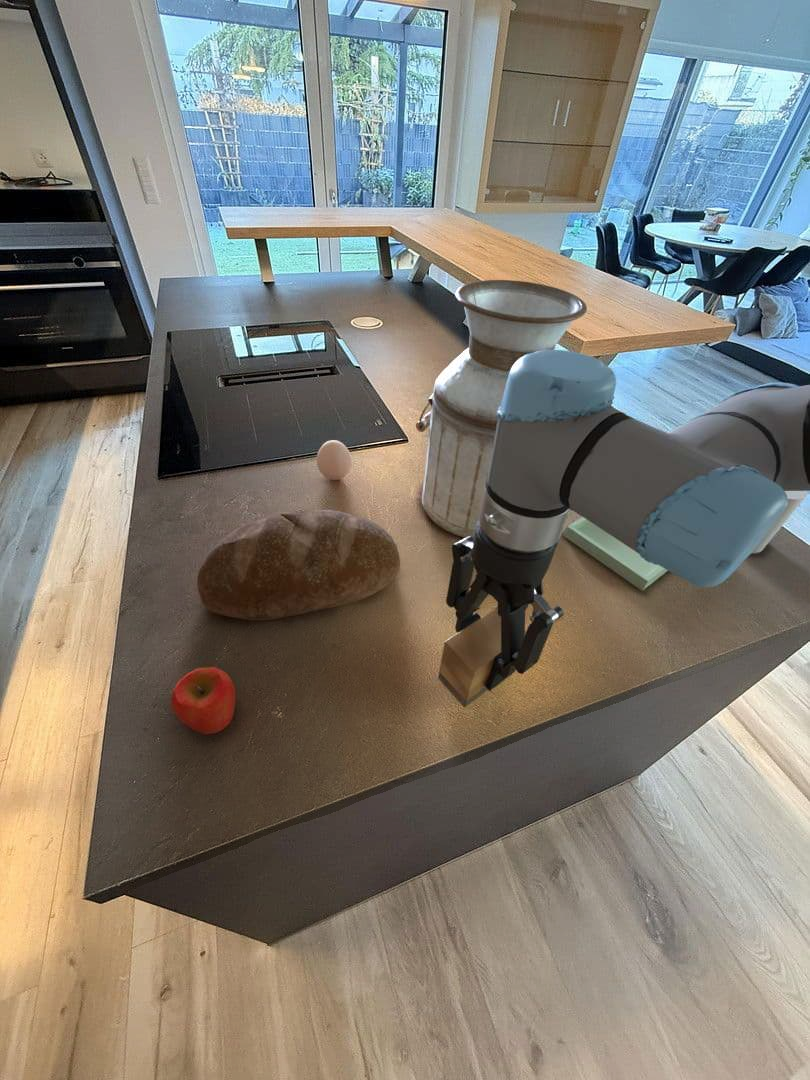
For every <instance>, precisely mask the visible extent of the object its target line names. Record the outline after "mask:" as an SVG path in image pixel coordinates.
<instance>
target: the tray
mask: <svg viewBox="0 0 810 1080" xmlns="http://www.w3.org/2000/svg"><path fill="white" fill-rule="evenodd" d="M563 537H564V538H566V539H567V540H569V541H570V542H571V543H573V544H574V545H575V546H577V547H579V548H580V549H582V550H583V551H584V552H586V553H587V554H588V555H590V556H591V557H593V558H594V559H596V561H598V562H600V563H601V564H603V565H604V566H606V567H607V568H609V569H610V570H612V571H613V572H614V573H616V574H617V575H618V576H620V577H622V578H623V579H624V580H626V581H627V582H629V583H630V584H632V586H634V587H636V588H638V589H639V590H640V591H642V592H643V591H644V590H646V589H647V588H648V587H649V586H650V585H652V584H653V583H654V582H655V581H657V580H658V579H659V578H661V576H663V575H664V574H665V573H667V572H669V571H668V570H667V569H665V568H663V567H661V566H660V565H655V564H653V563H651V562H650V563H649V562H647V561H646V560H645V559H644V558H642V557H641V556H640V554H638V553H637V552H635V551H634V550H633V549H631V548H630V547H628V546H627V545H625V544H623V543H622V542H620V541H619V540H617V539H616V538H614V537H613V536H611V535H610V534H608V533H607V532H605V531H604V530H602V529H601V528H599V527H598V526H596V525H594V524H593V523H591V522H590V521H588V520H587V519H585V518H584V517H582V516H581V518H578V519H577V520H575V521H574V522H572V523H570V524H569V525H567V526H566V529H565V530H564V533H563Z"/></svg>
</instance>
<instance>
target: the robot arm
mask: <svg viewBox="0 0 810 1080" xmlns="http://www.w3.org/2000/svg"><path fill="white" fill-rule="evenodd" d="M616 386H617V377H616V373H615V371H613V369H612V368H611V367H610V366H607V365H605V363H604V362H603V361H602V360H600V359H598V358H596V357H594V356H591V355H588V354H585V353H581V352H577V351H572V350H563V349H554V350H542V351H537V352H534V353H531V354H527V355H525V356H523V357H521V358H520V359H519V360H517V361H516V362H515V364H514V365H513V366H512V368H511V370H510V373H509V376H508V380H507V384H506V388H505V392H504V395H503V399H502V403H501V407H499V409H498V412H497V416H498V418H497V424H496V431H495V437H494V443H493V450H492V456H491V462H490V469H489V472H488V474H487V479H486V484H485V489H484V494H483V499H482V503H481V508H480V513H479V521H478V523H477V527H476V532H475V536H474V538H473V537H472V536H468V537H466V538H462V539H461V540H458V541H457V542H455V543H453V544H451V553H452V566H451V571H450V577H449V582H448V588H447V594H446V598H445V602H446V605H447V606H448V607H449V608H454V610H455V617H456V622H455V625H454V629H455V632H456V634H457V633H459V632H460V631H462V630H463V629H465V628H466V627H468V626H469V625H471V624H472V623H474V622H475V621H477V620H479V619H480V618H482V616H481V615H479V613H477V611H479V610H480V609H481V605H482V604H483V603H484V601H485V600H486V599H487V597H488V595H489V596H491V597H492V598H493V599H494V600H495V601H496V602H497V607H498V615H499V616H501V653H499V654H498V655H496V656H495V657H494V661H493V664H492V667H491V670H490V674H489V677H488V680H487V683H486V686H485V687H486V688H487V689H488V690H487V691H489V692H491V691H492V690H493V689H495V688H496V687H497V686H499V685H500V684H501V683H503V682H504V681H505V680H506V679H508V678H509V677H511V676H512V675H513V674H514V673H516V672H517V674H519V675H523V674H525V673H526V672H527V671H528V670H530V669H531V668H532V667H534V666H535V665H536V664H537V663H539V660H540V657H541V655H542V652H543V650H544V648H545V645H546V643H547V640H548V637H549V635H550V633H551V630H552V628H553V625H554V623H555V622H557V621H558V620H559V619H561V618H563V616H564V614H565V613H564V610H563V608H562V607H560V606H559V605H554V606H551V605H550V603H549V602H548V601H547V600H546V599H545V597H544V596H543V594H544V586H543V580H544V578H545V576H546V574H547V573H548V570H549V568H550V566H551V563H552V561H553V557H554V555H555V553H556V549H557V546H558V542H559V540H560V538H561V537H562V533H563V530H564V527H565V525H566V523H567V519H568V516H569V513H570V511H572V512H575V513H576V514H577V515H579V516H580V517H581V518H582V517H584V518H585V519H587V520H588V521H590V522H591V523H593V524H594V525H596V526H598V527H599V528H601V529H602V530H604V531H605V532H607V533H608V534H610V535H611V536H613V537H614V538H616V539H617V540H619V541H620V542H622V543H623V544H625V545H627V546H628V547H630V548H631V549H633V550H634V551H635V552H637V553H638V554H640V556H641V557H642V558H644V559H645V560H646V561H647V562H649V563H650V562H651V563H653V564H655V565H660V566H661V567H663V568H665V569H667V570H668V571H667V572H669V573H672V574H674V575H676V576H678V577H679V578H681V579H682V580H684V581H686V582H687V583H690V584H692V585H693V586H696V587H700V588H713V587H715V586H719V585H721V584H723V582H725V581H726V580H727V579H728V578H729V577H730V576H731V575H732V574H733V573H734V572H735V571H736V570H737V569H738V568H739V567H740V565H742V563H744V561H745V560H746V559H748V557H749V556H750V555H751V554H753V553H752V551H753V550H754V549H755V548H756V547H757V546H758V544H759V543H760V542H761V541H762V540H763V538H764V537H765V536H766V535H767V533H768V532H769V531H770V529H771V528H772V527H773V526H774V524H775V523H776V522H777V520H778V519H779V518H780V516H781V515H782V513H783V512H784V510H785V508H786V507H787V504H788V498H787V494H786V493H785V491H807V492H810V384H807V385H806V384H805V385H798V384H795V383H788V382H782V381H781V382H780V381H779V382H769V383H764V384H760V385H757V386H754V387H750V388H746V389H743V390H742V389H741V390H739V391H736V392H735V393H734V394H732V395H731V396H728V397H726V398H724V399H723V400H722V401H720V402H719V403H718V404H717V405H715V406H713V407H711V408H709V409H708V410H706V411H704V412H702V413H700V414H699V415H697V416H695V417H693V418H691V419H689V420H688V421H686V422H685V423H683V424H681V425H679V426H677V427H675V428H672V430H670V431H667V432H666V431H664V430H661V429H660V428H657V427H654V426H652V425H650V424H648V423H646V422H643V421H641V420H638V419H636V418H634V417H632V416H630V415H627V414H626V413H625V412H624V411H621V410H619V409H616V408H615V407H613V406H612V405H613V403H614V402H613V400H614V399H615V391H616ZM474 570H475V572H476V575H475V578H474V580H473V574H474ZM472 580H473V581H472ZM529 605H531V607H532V611H531V616H529V620H530V624H529V625H528V626H527V629H526V612H527V609H528V608H529ZM525 630H526V634H525Z"/></svg>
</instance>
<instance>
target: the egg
mask: <svg viewBox="0 0 810 1080" xmlns="http://www.w3.org/2000/svg"><path fill="white" fill-rule="evenodd" d="M352 461H353V459H352V455H351V452H350V450H349V448H348V447H347V446H346V445H345V444H344V443H342V441H340V440H336V439H335V440H334V439H333V440H332V439H330V440H328V441H326V442H324V443H323V444H322V445H321V447H320V448H319V450H318V451H317V454H316V466H317V469H318V471H319V472H320V474H321V475H322V476H323V477H324V478H327V479H328V480H333V481H337V480H340V479H343V478H345V477H346V476H347V475H348V474H349V472H350V471H351V469H352V463H353V462H352Z"/></svg>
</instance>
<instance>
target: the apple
mask: <svg viewBox="0 0 810 1080" xmlns="http://www.w3.org/2000/svg"><path fill="white" fill-rule="evenodd" d="M170 698H171V699H170V700H171V706H172V709H173V712H174V714H175V715H176V716H177V718H178V719H179V720H180V721H181V722H182V723H184V725H186V726H188V727H189V728H190V729H191V730H193V731H195V732H197V733H199V734H202V735H213V734H216V733H219V732H221V731H222V730H224V729H225V728H226V727H227V726H228V725H229V724H231V721H232V719H233V717H234V714H235V713H234V712H235V708H236V689H235V686H234V682H233V680H232V678H231V677H230V676H229V674H228V673H227V672H226V671H224V670H222V669H220V668H217V667H214V666H210V667H197V668H195V669H193V670H191V671H190V672H187V674H186V675H184V676H183V677H182V678H181V679H179V681H178V682H177V683H176V685H175V686H174V688H173V690H172V691H171V697H170Z"/></svg>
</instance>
